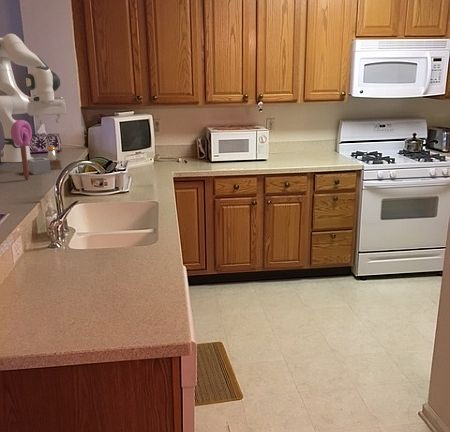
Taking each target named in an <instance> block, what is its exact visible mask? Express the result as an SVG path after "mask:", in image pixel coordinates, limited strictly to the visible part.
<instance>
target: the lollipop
mask: <svg viewBox="0 0 450 432" xmlns="http://www.w3.org/2000/svg"><path fill="white" fill-rule="evenodd" d="M11 137H12V139H13V141H14V143H15V145H17V146H19V145H20V149H21V157H22V162H21V164H22V173H23V177H24V180H25V181H28V180H29V178H30V172H29V165H28V161H27V154H26V146H30V145H31V141H32V138H33V129H32V126H31V124H30V123H29V122H28V121H26V120H24V119H20V120H19V119H18V120H17V121H16V122H15V123H14V124H13V125H12V128H11Z"/></svg>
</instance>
